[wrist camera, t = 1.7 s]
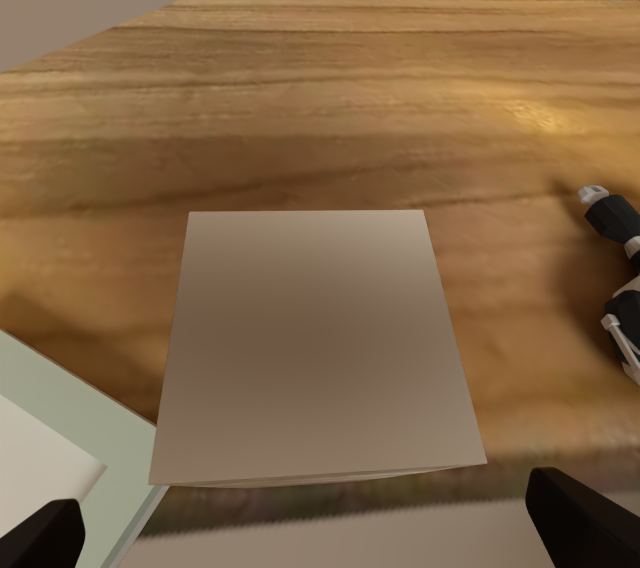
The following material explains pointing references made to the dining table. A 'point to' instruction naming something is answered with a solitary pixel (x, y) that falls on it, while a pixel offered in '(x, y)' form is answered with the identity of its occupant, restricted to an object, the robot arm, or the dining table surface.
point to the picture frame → (72, 453)
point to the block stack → (310, 354)
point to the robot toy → (635, 297)
